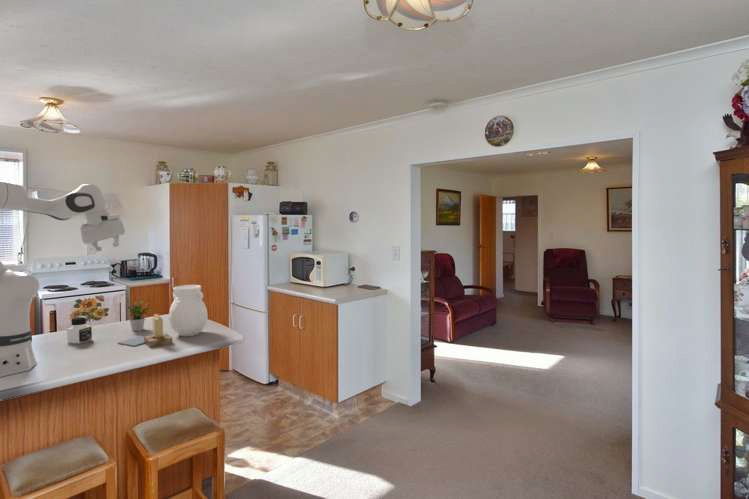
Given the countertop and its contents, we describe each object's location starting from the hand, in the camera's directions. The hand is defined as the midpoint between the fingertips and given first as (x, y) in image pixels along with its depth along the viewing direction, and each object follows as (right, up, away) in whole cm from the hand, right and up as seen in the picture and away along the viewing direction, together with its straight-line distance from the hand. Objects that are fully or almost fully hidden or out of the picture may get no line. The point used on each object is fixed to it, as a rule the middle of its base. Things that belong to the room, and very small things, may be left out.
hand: (107, 248), depth 197 cm
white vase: (+26, -45, +26) cm, 58 cm away
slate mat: (+7, -45, +11) cm, 47 cm away
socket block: (+19, -46, +9) cm, 50 cm away
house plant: (-5, -44, +32) cm, 54 cm away
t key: (+19, -46, +9) cm, 50 cm away
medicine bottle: (-21, -45, +11) cm, 51 cm away
